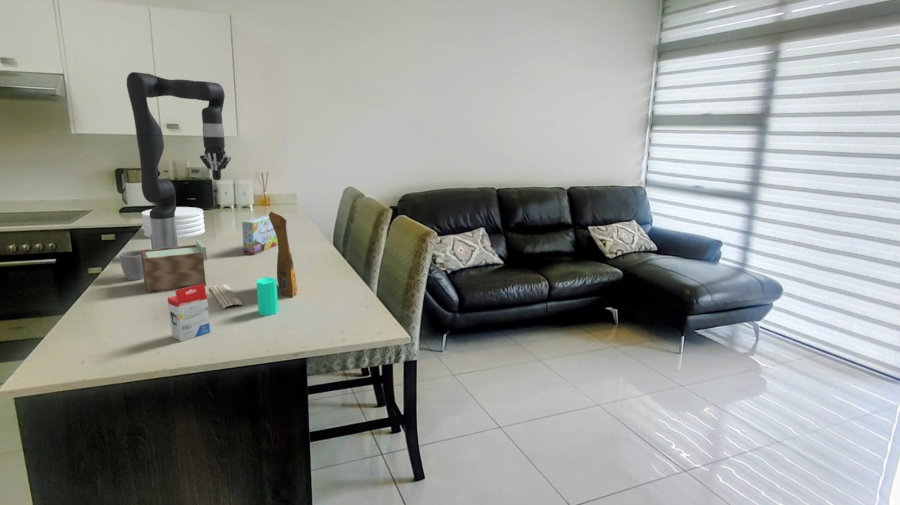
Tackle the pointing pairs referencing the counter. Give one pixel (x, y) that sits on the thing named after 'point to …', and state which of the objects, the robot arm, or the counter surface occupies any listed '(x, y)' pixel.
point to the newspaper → (225, 295)
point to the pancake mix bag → (284, 257)
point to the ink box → (189, 313)
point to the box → (172, 270)
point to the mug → (132, 264)
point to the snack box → (258, 235)
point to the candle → (267, 296)
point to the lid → (180, 251)
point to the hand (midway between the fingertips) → (217, 179)
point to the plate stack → (180, 222)
